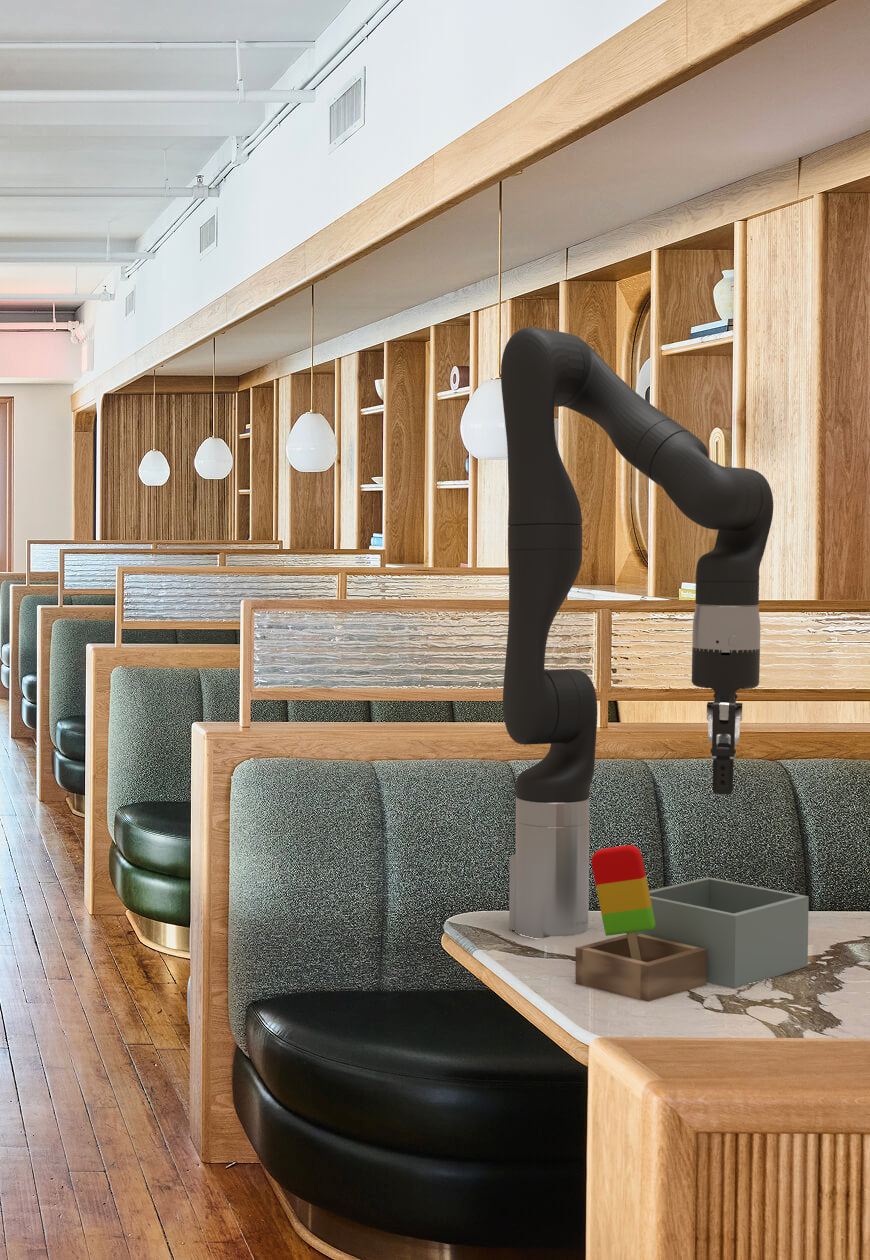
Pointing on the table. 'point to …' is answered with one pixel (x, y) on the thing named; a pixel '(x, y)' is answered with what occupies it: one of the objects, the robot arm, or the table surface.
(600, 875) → the popsicle
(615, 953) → the collar
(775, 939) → the bin
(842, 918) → the table surface
